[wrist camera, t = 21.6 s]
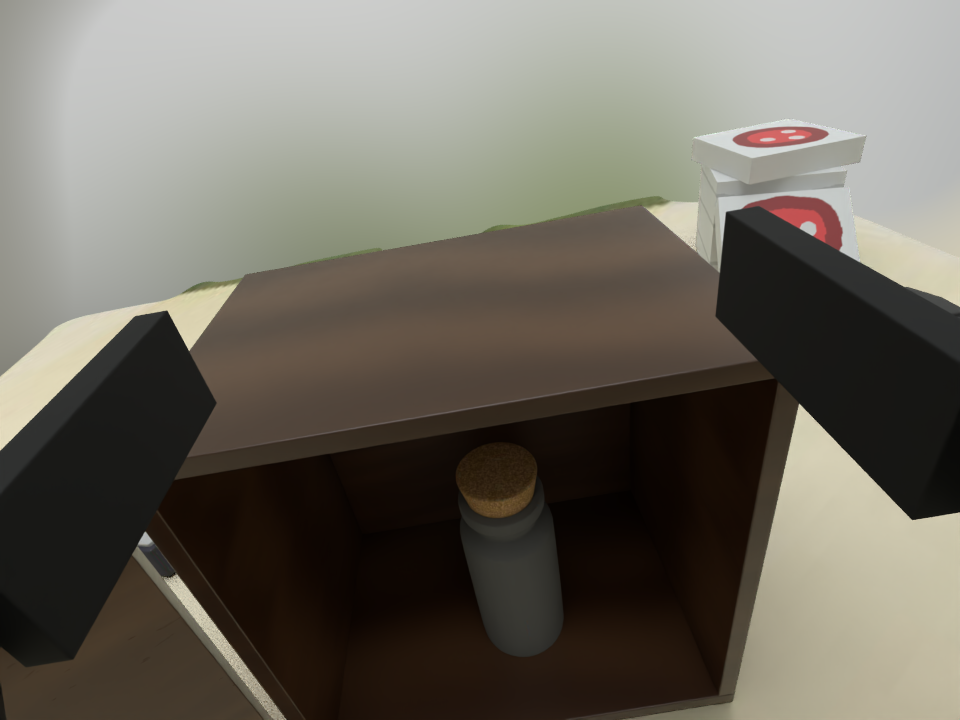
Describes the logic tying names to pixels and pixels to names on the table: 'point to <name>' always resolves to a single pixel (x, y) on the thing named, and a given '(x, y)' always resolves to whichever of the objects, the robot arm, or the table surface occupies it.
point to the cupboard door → (133, 665)
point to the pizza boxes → (777, 181)
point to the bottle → (510, 548)
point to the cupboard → (448, 439)
